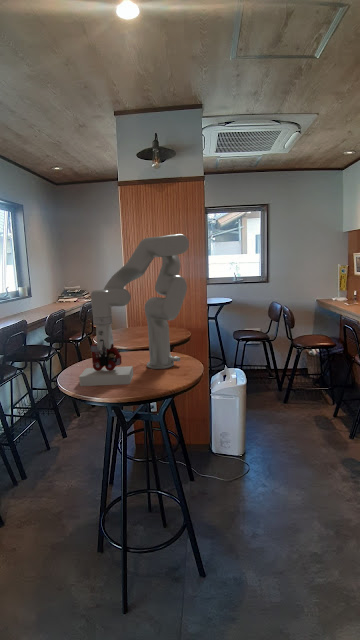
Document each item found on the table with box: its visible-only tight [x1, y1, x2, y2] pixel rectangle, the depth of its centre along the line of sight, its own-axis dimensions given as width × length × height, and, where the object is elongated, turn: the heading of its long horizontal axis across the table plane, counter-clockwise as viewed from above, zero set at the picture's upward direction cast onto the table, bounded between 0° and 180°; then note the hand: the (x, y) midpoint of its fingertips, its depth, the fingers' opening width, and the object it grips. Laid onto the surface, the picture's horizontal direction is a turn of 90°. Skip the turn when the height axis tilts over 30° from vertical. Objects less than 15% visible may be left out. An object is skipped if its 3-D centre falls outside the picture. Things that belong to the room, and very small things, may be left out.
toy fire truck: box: [89, 343, 123, 371], centre depth 152 cm, size 7×12×10 cm, turn 83°
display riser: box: [78, 365, 134, 387], centre depth 153 cm, size 20×11×4 cm, turn 90°
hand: (106, 362), depth 152 cm, fingers closed on toy fire truck, 7 cm apart
